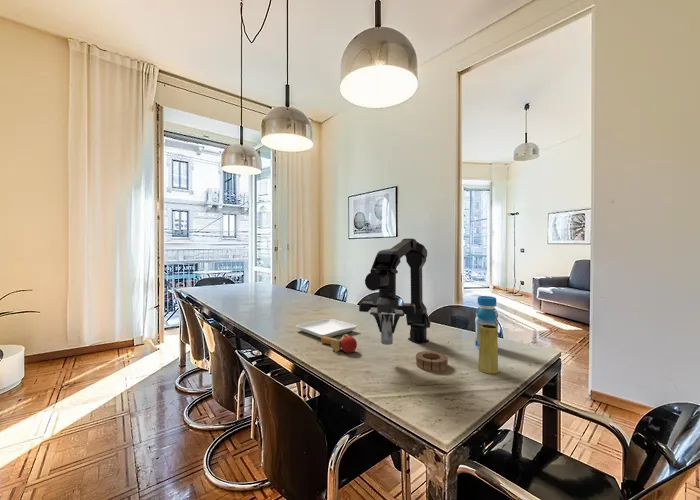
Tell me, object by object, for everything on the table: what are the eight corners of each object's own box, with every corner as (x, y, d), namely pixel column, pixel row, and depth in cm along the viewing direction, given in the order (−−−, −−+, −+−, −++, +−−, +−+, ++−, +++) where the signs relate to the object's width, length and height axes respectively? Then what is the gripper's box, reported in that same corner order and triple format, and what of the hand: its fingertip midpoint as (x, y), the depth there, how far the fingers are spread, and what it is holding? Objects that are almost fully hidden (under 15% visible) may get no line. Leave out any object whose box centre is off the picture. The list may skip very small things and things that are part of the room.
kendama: (315, 349, 121) (346, 354, 108) (316, 332, 122) (347, 336, 110) (329, 348, 126) (361, 353, 114) (330, 332, 128) (361, 335, 115)
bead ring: (431, 357, 108) (431, 349, 108) (453, 367, 100) (453, 358, 100) (409, 363, 103) (410, 354, 103) (431, 373, 95) (431, 364, 95)
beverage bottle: (483, 352, 115) (484, 299, 114) (470, 344, 123) (470, 295, 123) (503, 350, 116) (503, 298, 116) (488, 343, 125) (489, 295, 124)
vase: (497, 375, 94) (498, 329, 93) (476, 371, 97) (476, 326, 97) (499, 369, 99) (500, 325, 99) (479, 365, 102) (480, 322, 102)
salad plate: (294, 331, 141) (294, 324, 141) (329, 324, 155) (329, 317, 155) (322, 342, 125) (322, 334, 125) (358, 333, 140) (358, 325, 140)
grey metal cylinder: (387, 340, 107) (388, 312, 107) (395, 343, 104) (395, 314, 103) (378, 342, 105) (379, 313, 105) (385, 345, 102) (386, 315, 101)
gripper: (355, 289, 99) (355, 337, 99) (414, 291, 94) (413, 342, 94) (362, 285, 109) (362, 328, 110) (415, 287, 105) (415, 332, 105)
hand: (387, 332), depth 104 cm, fingers closed on grey metal cylinder, 4 cm apart
